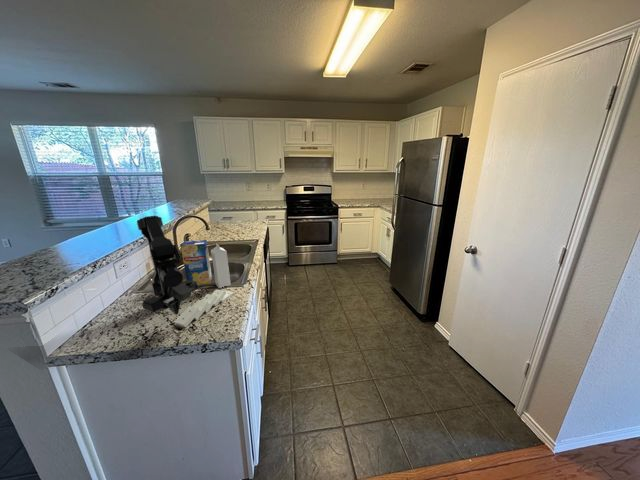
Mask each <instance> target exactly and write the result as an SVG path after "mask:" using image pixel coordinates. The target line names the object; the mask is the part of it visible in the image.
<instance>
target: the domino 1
mask: <svg viewBox="0 0 640 480" xmlns="http://www.w3.org/2000/svg"><path fill="white" fill-rule="evenodd" d="M199 312H200V310H199V309H198V308H196V307H193V306H191V305H188V307H187V308H186V309H185V310H184V311H183V312H182V313H181V314H180V315H179V316H178V318H177V319H176V320H174V323H175V325H177V326H180V327H183V328H187V327H188V326H189V325H190V323H191V322H192V321H193V320H195V319H194V318H195V316H196V315H197V314H198V313H199Z"/></svg>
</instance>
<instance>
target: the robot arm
mask: <svg viewBox="0 0 640 480" xmlns="http://www.w3.org/2000/svg"><path fill="white" fill-rule="evenodd" d="M136 224H137V229H138V231H140V233H141V235H143V236H144V237H145V238H146V240H147V244H148V247H149V254H150V258H151V261H152V265H153V269H154V274H153V276H152V283H151V288H152V289H151V290H152V292H153V295H152V296H150V297H149V298H147V299H145V300H143V301H142V303H141V305H142V308H143V309H144V310H147V311H150V312H157V311H159V310H160V309H162V308H163V309H168V308H169V310H170V311H171V312H172V313H173V314H174V315H178V314H179V312H180V306H181V303H182V302H183V301H186V299H188V298H190V297H192V293H193V292H195V291H196V290H197V289H199V285H198V283H197V282H195V281H191V280H187V279H185V280H184V281H183V279H184V277H183V274H182V273H181V271H180V270H179V269H178V267H177V265H176V264H180V263H181V261H180V260H181V255H180V251H179V250H178V247H177V246H176V244H173V242H172V240H171V239H169V238H166V236H165V234H164V232H163V229H162V228H163V226H164V223H163V220H162V217H161V216H158V215H150V216H149V215H148V216H144V217H142V218H139V219H138V220H136Z"/></svg>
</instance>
